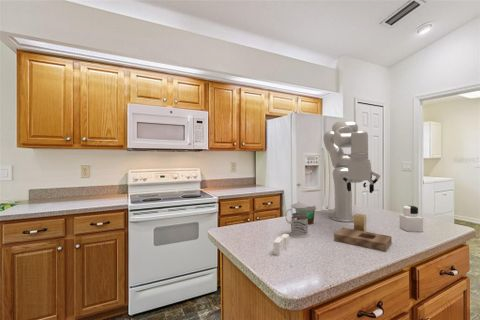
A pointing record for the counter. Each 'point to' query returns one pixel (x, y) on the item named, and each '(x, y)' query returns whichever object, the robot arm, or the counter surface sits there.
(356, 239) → the walnut square hole board
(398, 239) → the counter surface
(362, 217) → the brass peg
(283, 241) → the napkin holder
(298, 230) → the french press
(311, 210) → the food container
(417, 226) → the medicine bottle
